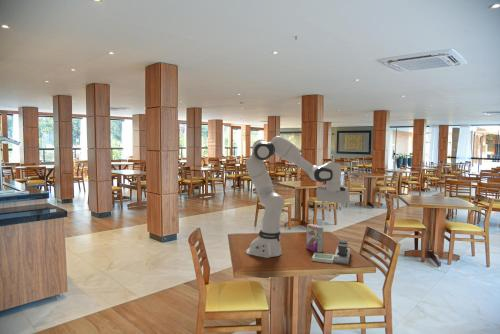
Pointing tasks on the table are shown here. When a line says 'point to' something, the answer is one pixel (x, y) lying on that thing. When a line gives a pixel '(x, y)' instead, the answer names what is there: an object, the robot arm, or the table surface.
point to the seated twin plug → (343, 242)
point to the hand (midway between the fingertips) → (332, 209)
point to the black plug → (342, 249)
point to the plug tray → (323, 257)
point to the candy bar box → (314, 238)
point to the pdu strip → (342, 257)
